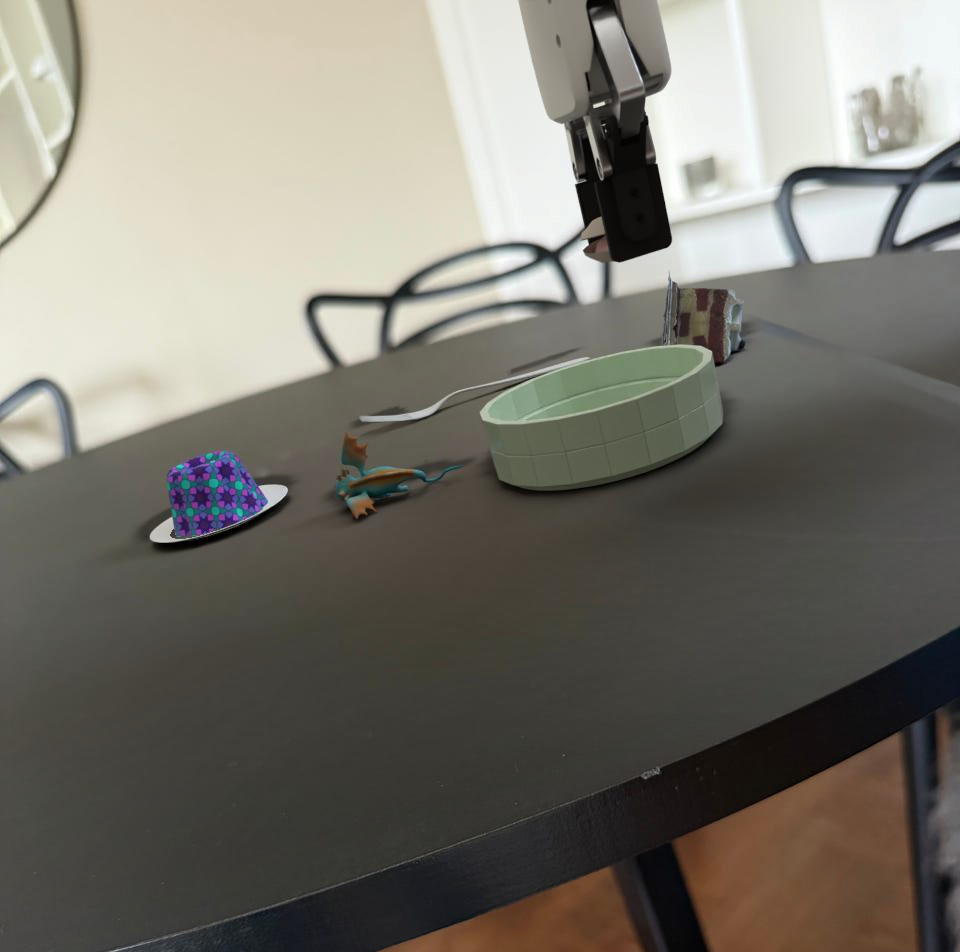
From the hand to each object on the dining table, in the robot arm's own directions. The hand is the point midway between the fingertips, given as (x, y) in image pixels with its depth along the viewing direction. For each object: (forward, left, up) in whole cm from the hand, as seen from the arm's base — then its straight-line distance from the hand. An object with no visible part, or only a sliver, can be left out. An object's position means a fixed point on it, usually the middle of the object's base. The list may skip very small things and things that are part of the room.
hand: (629, 248), depth 55 cm
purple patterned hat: (+33, -26, -14) cm, 44 cm away
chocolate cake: (-11, -33, -14) cm, 37 cm away
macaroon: (0, 0, -1) cm, 1 cm away
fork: (+9, -45, -14) cm, 48 cm away
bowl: (+2, -13, -14) cm, 19 cm away
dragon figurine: (+18, -17, -14) cm, 28 cm away
